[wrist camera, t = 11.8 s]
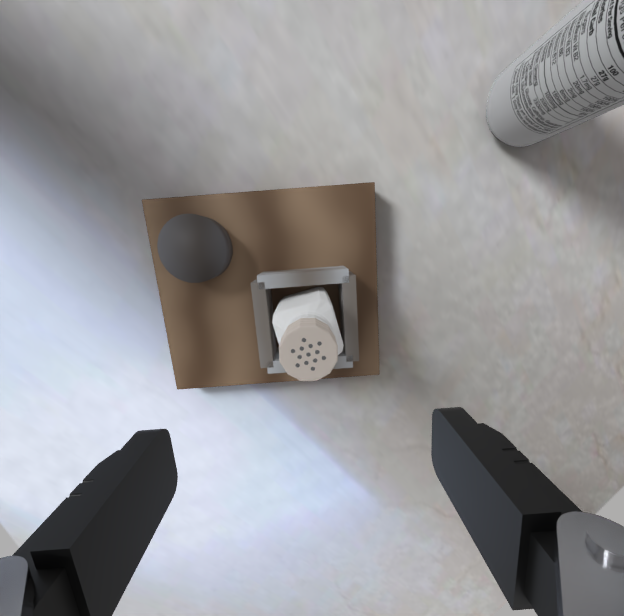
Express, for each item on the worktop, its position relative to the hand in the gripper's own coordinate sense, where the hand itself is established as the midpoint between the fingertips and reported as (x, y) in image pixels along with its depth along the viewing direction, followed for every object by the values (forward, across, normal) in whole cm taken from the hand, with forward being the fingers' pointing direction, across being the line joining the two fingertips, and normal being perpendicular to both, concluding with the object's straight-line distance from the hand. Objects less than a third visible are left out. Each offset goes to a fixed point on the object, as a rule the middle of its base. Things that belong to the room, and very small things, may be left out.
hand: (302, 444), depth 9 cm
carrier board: (+18, +3, -2) cm, 19 cm away
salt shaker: (+17, 0, 0) cm, 17 cm away
